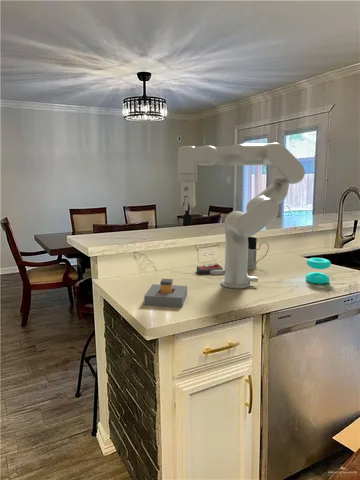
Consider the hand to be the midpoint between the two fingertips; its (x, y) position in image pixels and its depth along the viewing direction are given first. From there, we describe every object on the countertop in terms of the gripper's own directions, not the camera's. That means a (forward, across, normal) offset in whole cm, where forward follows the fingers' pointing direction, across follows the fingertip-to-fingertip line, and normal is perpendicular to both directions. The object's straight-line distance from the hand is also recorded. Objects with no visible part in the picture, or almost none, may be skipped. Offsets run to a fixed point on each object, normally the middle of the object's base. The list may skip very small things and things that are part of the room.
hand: (187, 224), depth 149 cm
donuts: (+28, +18, -56) cm, 65 cm away
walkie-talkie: (+28, +26, -11) cm, 39 cm away
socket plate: (+27, -15, +6) cm, 31 cm away
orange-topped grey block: (+26, -15, +6) cm, 31 cm away
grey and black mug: (+27, +38, -29) cm, 55 cm away
